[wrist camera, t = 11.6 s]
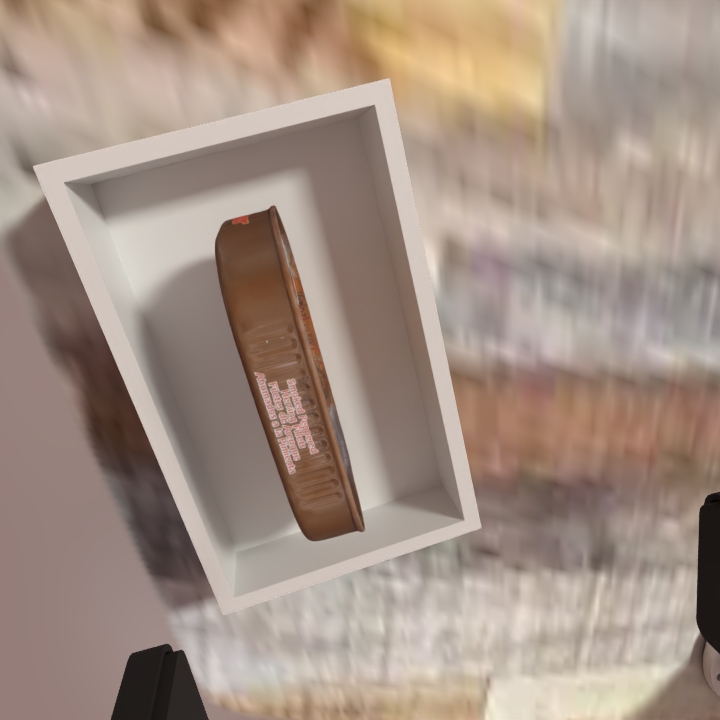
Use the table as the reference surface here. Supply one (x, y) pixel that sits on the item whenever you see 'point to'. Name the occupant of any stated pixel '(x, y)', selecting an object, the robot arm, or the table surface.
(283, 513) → the tote
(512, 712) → the table surface
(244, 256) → the tin
